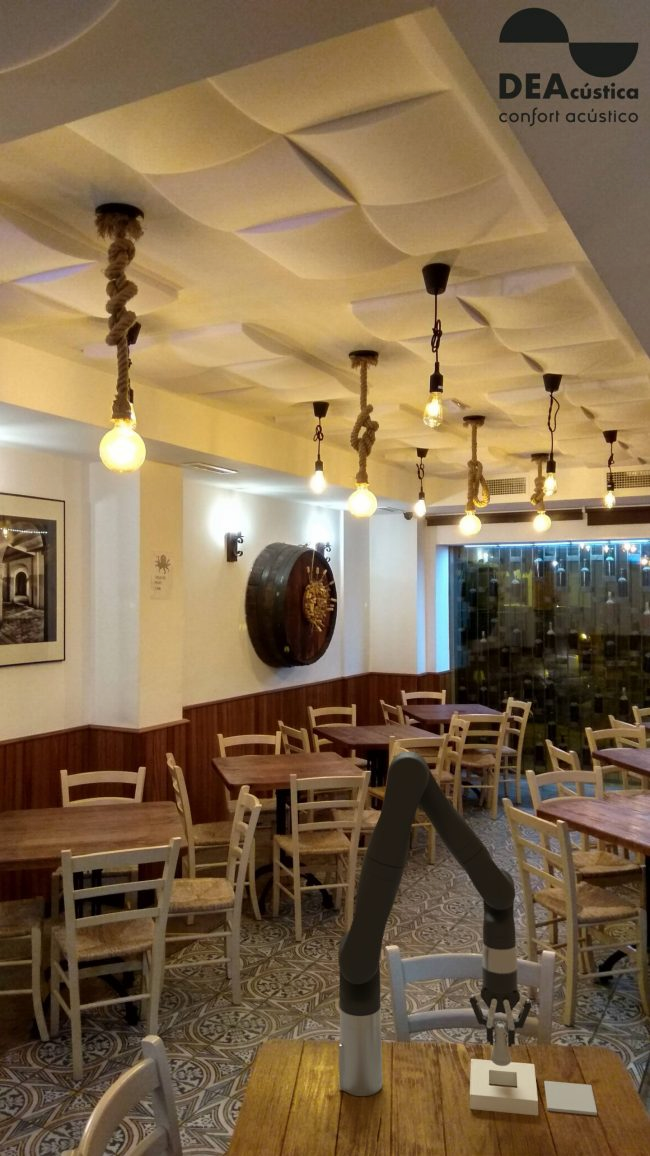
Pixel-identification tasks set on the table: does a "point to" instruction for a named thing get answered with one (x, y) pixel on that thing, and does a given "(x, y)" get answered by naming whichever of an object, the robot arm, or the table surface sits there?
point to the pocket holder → (503, 1097)
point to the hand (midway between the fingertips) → (500, 1043)
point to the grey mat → (570, 1098)
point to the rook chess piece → (500, 1045)
